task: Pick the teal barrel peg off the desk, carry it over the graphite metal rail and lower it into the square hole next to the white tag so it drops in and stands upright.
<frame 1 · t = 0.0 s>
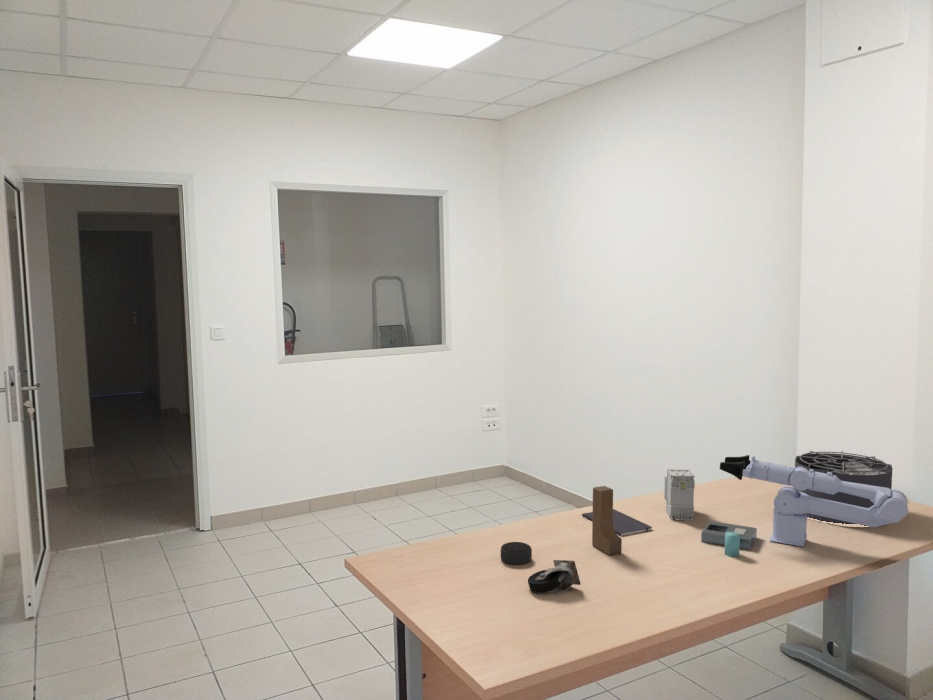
hand: (722, 462, 232), 22 cm above the table, tool horizontal, fingers open, 7 cm apart
notebook: (616, 525, 241), on the table
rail: (729, 539, 225), on the table
ventilation fan: (840, 513, 250), on the table
smart speaker: (516, 560, 211), on the table
caster wheel: (551, 590, 190), on the table
barrel peg: (731, 554, 214), on the table
wooden block: (606, 550, 218), on the table
circuit breaker: (678, 513, 251), on the table
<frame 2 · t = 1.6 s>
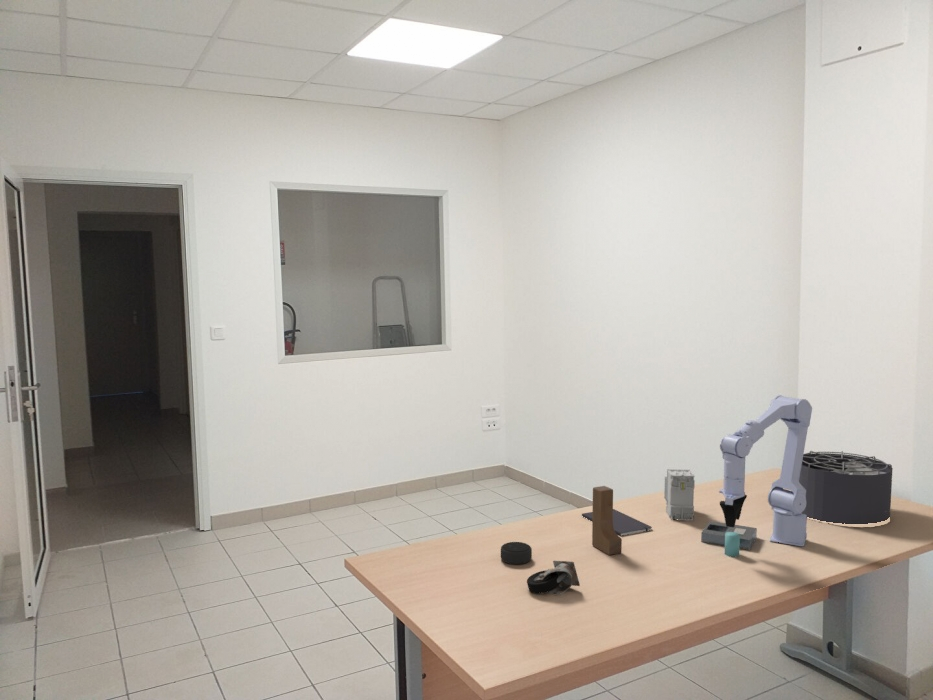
hand: (732, 522, 213), 9 cm above the table, tool pointing down, fingers open, 7 cm apart
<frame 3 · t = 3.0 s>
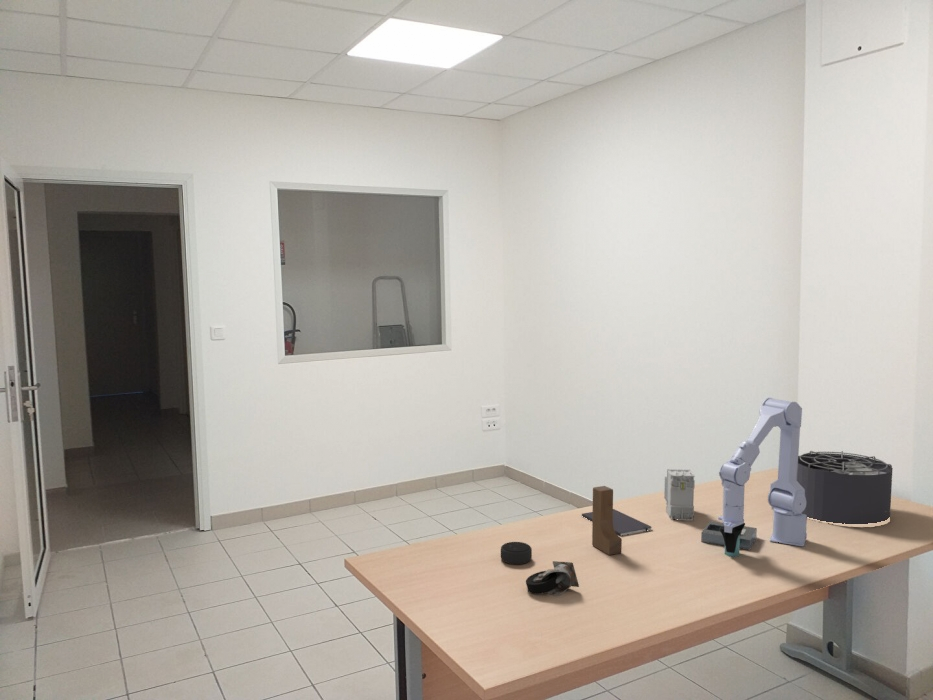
hand: (732, 549, 214), 1 cm above the table, tool pointing down, fingers closed on barrel peg, 4 cm apart
barrel peg: (731, 554, 214), on the table, touching gripper
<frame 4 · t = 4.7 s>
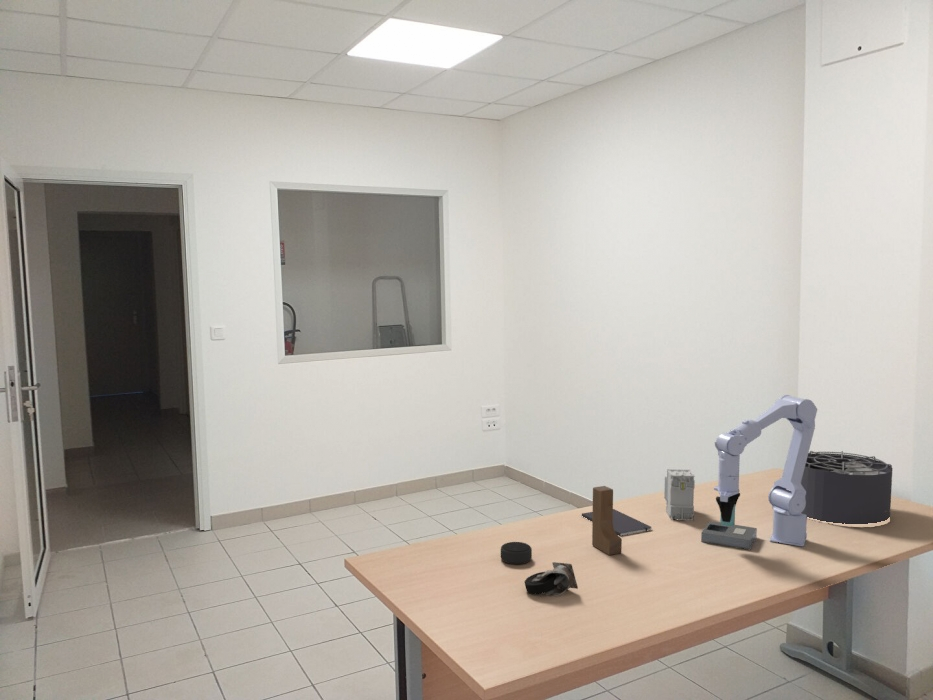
hand: (727, 519, 218), 9 cm above the table, tool pointing down, fingers closed on barrel peg, 4 cm apart
barrel peg: (727, 523, 218), point 7 cm above the table, touching gripper
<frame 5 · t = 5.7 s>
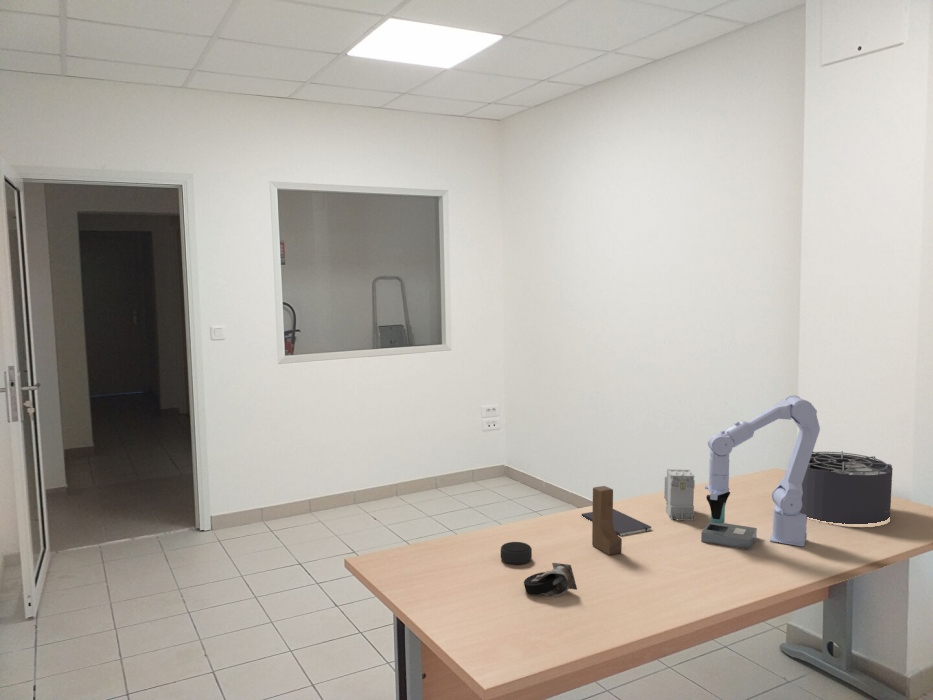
hand: (717, 516, 227), 7 cm above the table, tool pointing down, fingers closed on barrel peg, 4 cm apart
barrel peg: (717, 521, 227), point 5 cm above the table, touching gripper
when the fingers open (4 cm above the table, at t = 6.6 s): barrel peg drops 3 cm, resting in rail.
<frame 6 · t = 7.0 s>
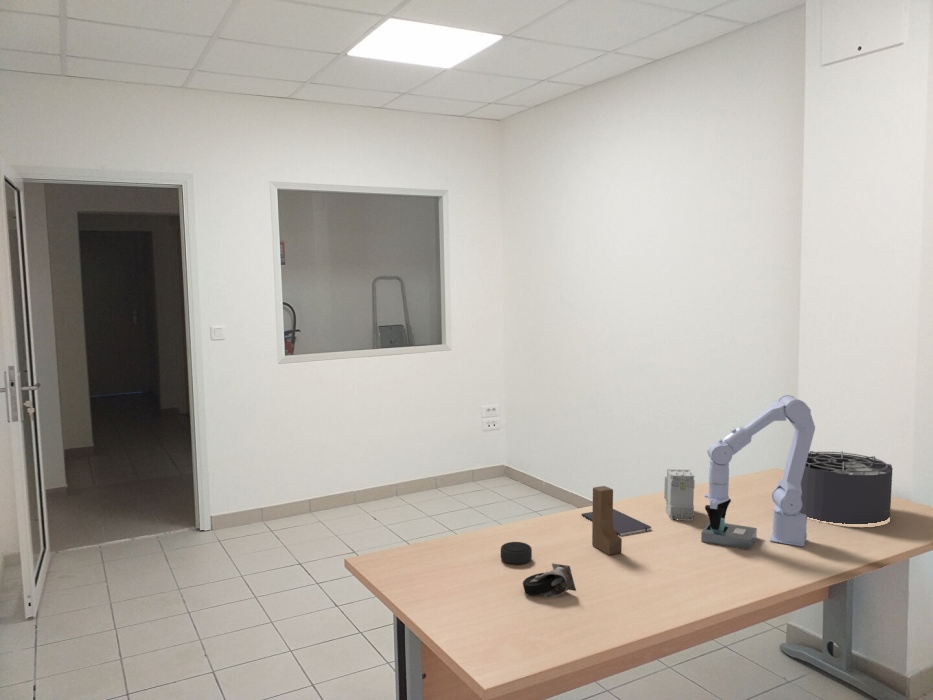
hand: (717, 525, 227), 4 cm above the table, tool pointing down, fingers open, 7 cm apart
barrel peg: (717, 537, 227), resting in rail
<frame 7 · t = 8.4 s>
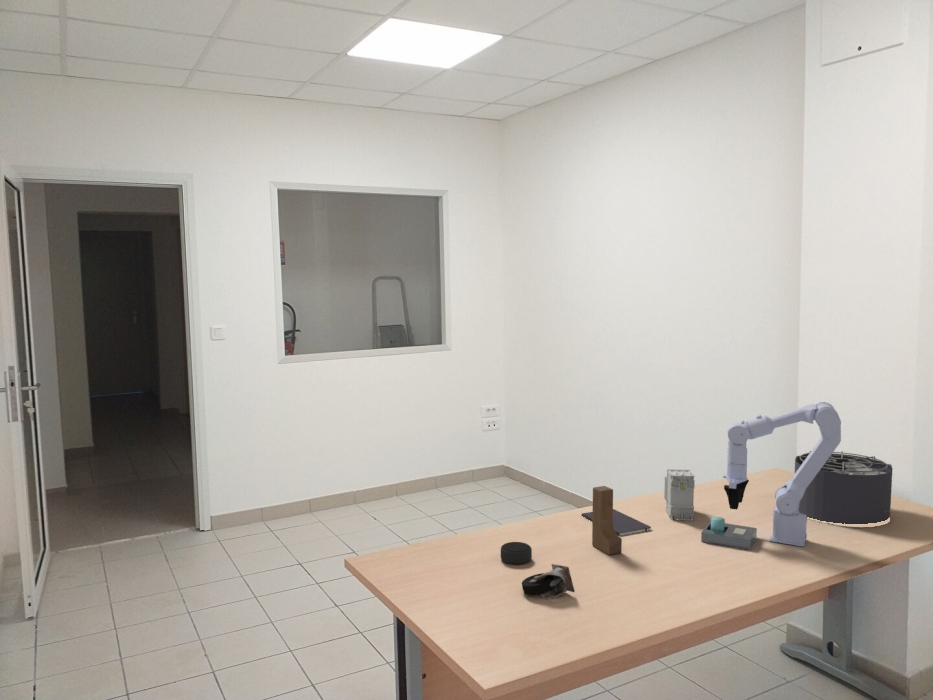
hand: (735, 505, 229), 9 cm above the table, tool pointing down, fingers open, 7 cm apart
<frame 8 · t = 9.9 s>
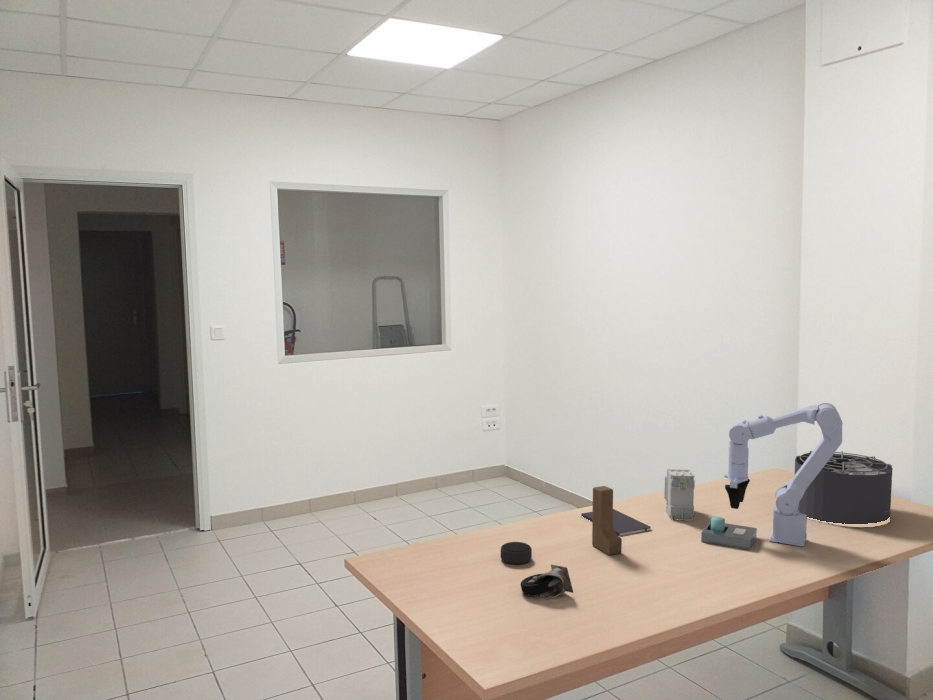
hand: (736, 505, 229), 9 cm above the table, tool pointing down, fingers open, 7 cm apart
at the end: barrel peg 0.0 cm from the target spot on the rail, point 0.0 cm above the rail's base; barrel peg tilted 1°; the gripper is holding nothing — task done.
